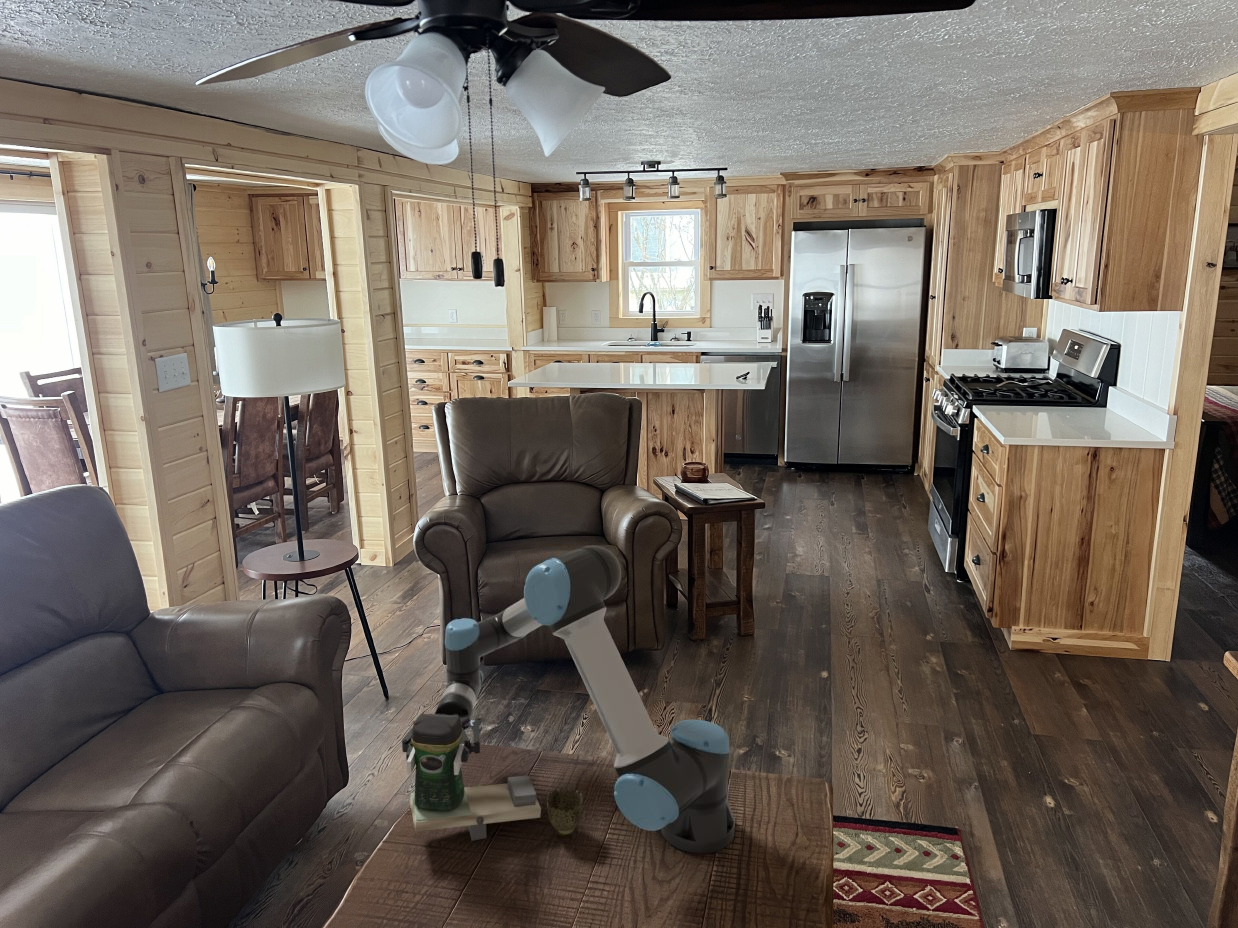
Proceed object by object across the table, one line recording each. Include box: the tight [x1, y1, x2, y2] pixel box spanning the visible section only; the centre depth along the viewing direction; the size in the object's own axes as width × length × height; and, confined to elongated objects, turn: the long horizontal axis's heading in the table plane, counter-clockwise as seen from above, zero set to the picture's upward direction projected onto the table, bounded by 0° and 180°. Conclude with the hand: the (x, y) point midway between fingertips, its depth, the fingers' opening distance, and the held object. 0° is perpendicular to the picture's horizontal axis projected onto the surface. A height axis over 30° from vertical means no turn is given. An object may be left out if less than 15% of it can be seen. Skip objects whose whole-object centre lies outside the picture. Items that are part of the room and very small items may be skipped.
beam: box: [409, 775, 542, 832], centre depth 175 cm, size 11×25×4 cm, turn 109°
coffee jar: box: [411, 713, 465, 812], centre depth 171 cm, size 10×8×19 cm
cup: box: [546, 787, 584, 837], centre depth 175 cm, size 8×7×8 cm
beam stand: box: [467, 824, 487, 842], centre depth 176 cm, size 7×3×4 cm, turn 19°
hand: (432, 768), depth 166 cm, fingers closed on coffee jar, 8 cm apart
